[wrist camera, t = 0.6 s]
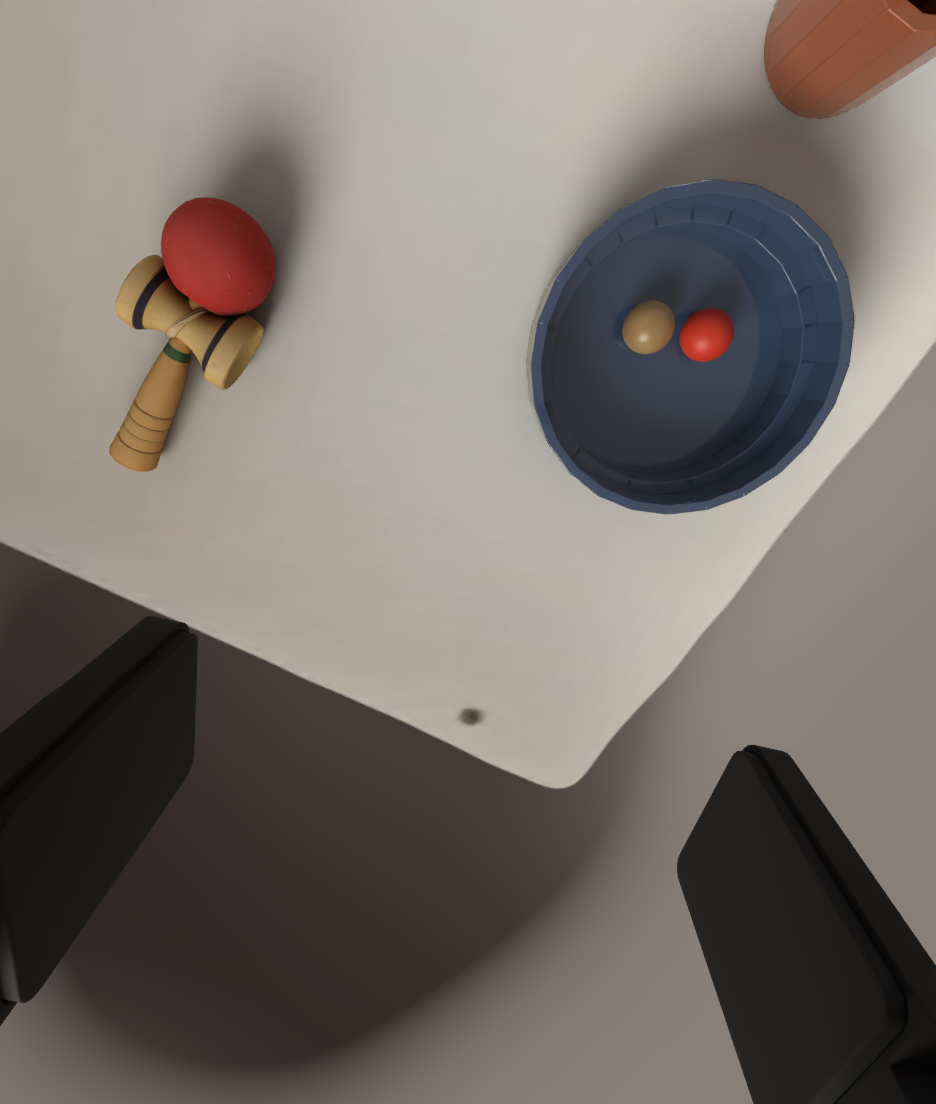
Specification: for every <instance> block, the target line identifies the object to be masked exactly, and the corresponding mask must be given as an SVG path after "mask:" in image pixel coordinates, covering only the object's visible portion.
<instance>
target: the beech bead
mask: <svg viewBox="0 0 936 1104" xmlns="http://www.w3.org/2000/svg"><path fill="white" fill-rule="evenodd" d="M674 330H675V318H674V315H673V312H672V311H671V309H670V308H669V307H668V306H667V305H666V304H664V303H662V302H660V301H656V300H647V301H644V302H641V303H639V304H637V305H636V306H634V307H633V308H632V309H631V310H630V311H629V313H628V314H627V316H626V317H625V320H624V323H623V328H622V333H623V338H624V341H625V343H626V344H627V346H628V347H629V348H630V349H631V350H633V351H634V352H636V353H639V354H652V353H655V352H658V351H660V350H661V349H662V348H664V347H665V346H666V345H667V344H668V343H669V341H670V340H671V338H672V336H673V334H674Z"/></svg>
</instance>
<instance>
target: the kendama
mask: <svg viewBox="0 0 936 1104" xmlns="http://www.w3.org/2000/svg"><path fill="white" fill-rule="evenodd" d="M161 252H162V257H163V258H161V257H159V256H157V255H152V256H148V257H146V258H144V259H143V260H141V261H140V262H139V263H138V264H137V265H136V266H135V267H134V268H133V269H132V270H131V272H130V273H129V274H128V276H127V278H126V279H125V281H124V283H123V285H122V286H121V288H120V291H119V293H118V296H117V300H116V313H117V316H118V317H119V318H120V319H121V320H123V321H124V322H125V323H126V324H128V325H129V326H130V327H132V328H134V329H155V330H160V331H163V332H166V336H168V337H169V338H170V340H169V342H168V343H167V345H166V346H165V347H164V349H163V351H162V352H161V354H160V355H159V357H158V359H157V360H156V362H155V363H154V365H153V366H152V368H151V370H150V371H149V373H148V375H147V376H146V378H145V380H144V382H143V384H142V386H141V388H140V389H139V392H138V394H137V396H136V398H135V400H134V402H133V404H132V406H131V408H130V411H129V412H128V414H127V416H126V418H125V420H124V422H123V424H122V425H121V427H120V430H119V432H118V433H117V435H116V436H115V438H114V440H113V442H112V444H111V445H110V450H109V453H110V455H111V457H112V458H113V459H114V460H115V461H116V462H117V463H119V464H120V465H122V466H124V467H126V468H128V469H132V470H135V471H150V470H153V469H155V468H156V467H157V465H158V462H159V459H160V455H161V452H162V448H163V446H164V443H165V439H166V436H167V434H168V431H169V428H170V425H171V423H172V420H173V417H174V414H175V412H176V409H177V406H178V403H179V400H180V397H181V394H182V391H183V388H184V384H185V380H186V376H187V372H188V368H189V363H190V360H191V355H192V352H193V353H194V354H195V355H196V357H197V358H198V360H199V362H200V364H201V366H202V369H203V372H204V376H205V379H206V380H207V381H208V382H210V383H212V384H213V385H215V386H217V387H218V388H220V389H223V390H225V389H227V388H229V387H230V386H231V385H232V384H233V383H234V382H235V381H236V380H237V379H238V377H239V376H240V375H241V374H242V372H243V371H244V369H245V368H246V366H247V365H248V363H249V362H250V360H251V359H252V357H253V355H254V354H255V352H256V350H257V348H258V346H259V344H260V342H261V339H262V336H263V326H262V325H261V324H259V323H258V322H257V321H255V320H254V319H253V318H252V317H250V316H249V315H247V312H250V311H252V310H254V309H255V308H257V307H258V306H259V305H260V304H262V303H263V302H264V300H265V299H266V298H267V296H268V295H269V293H270V291H271V289H272V286H273V283H274V279H275V272H276V264H275V256H274V252H273V248H272V245H271V243H270V241H269V239H268V237H267V235H266V234H265V232H264V231H263V229H262V228H261V227H260V225H259V224H258V223H257V222H256V221H255V220H254V219H253V218H252V217H251V216H250V215H249V214H247V212H246V211H245V210H242V209H240V208H239V207H237V206H235V205H233V204H231V203H229V202H227V201H224V200H220V199H215V198H196V199H193V200H190V201H186V202H185V203H183V204H182V205H180V206H179V207H178V208H177V209H176V210H175V211H174V212H173V213H172V214H171V215H170V217H169V218H168V220H167V222H166V224H165V226H164V229H163V232H162V239H161Z"/></svg>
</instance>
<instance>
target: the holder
mask: <svg viewBox="0 0 936 1104" xmlns="http://www.w3.org/2000/svg"><path fill="white" fill-rule="evenodd" d="M934 57H936V0H778V1H777V3H776V5H775V7H774V10H773V12H772V14H771V18H770V21H769V24H768V28H767V33H766V38H765V48H764V60H765V68H766V73H767V77H768V81H769V83H770V86H771V88H772V90H773V92H774V94H775V95H776V97H777V98H778V99H779V101H780V102H781V103H782V104H783V105H784V106H785V107H786V108H788V109H789V110H791V111H792V112H794V113H796V114H798V115H801V116H803V117H808V118H818V119H820V118H829V117H833V116H837V115H840V114H842V113H845V112H847V111H849V110H851V109H852V108H855V107H857V106H859V105H861V104H862V103H864V102H865V101H867V100H869V99H870V98H872V97H873V96H875V95H876V94H878V93H880V92H881V91H883V90H884V89H886V88H887V87H889V86H890V85H892V84H894V83H895V82H897V81H898V80H900V79H901V78H903V77H905V76H906V75H908V74H909V73H911V72H912V71H914V70H915V69H917V68H919V67H920V66H922V65H923V64H925V63H926V62H928V61H930V60H931V59H933V58H934Z"/></svg>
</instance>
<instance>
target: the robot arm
mask: <svg viewBox="0 0 936 1104" xmlns="http://www.w3.org/2000/svg"><path fill="white" fill-rule="evenodd" d="M197 648H198V641H197V636H196V635H195V634H191V633H189V628H188V626H187V624H185V623H183V622H178V621H173V620H168V619H164V618H159V617H155V616H148V617H146V618H144V619H143V620H142V621H140V622H139V623H138V624H137V625H135V626H134V627H133V628H132V629H130V630H129V631H128V632H127V633H126V634H124V635H123V636H122V637H121V638H120V639H118V640H117V641H116V642H115V643H113V644H112V645H111V646H110V647H109V648H107V649H106V650H105V651H104V652H103V653H101V654H100V655H99V656H98V657H96V658H95V659H94V660H93V661H91V662H90V663H89V664H88V665H87V666H86V667H84V668H83V669H82V670H80V671H79V672H78V673H77V674H76V675H74V676H73V677H72V678H71V679H69V680H68V681H67V682H66V683H65V684H63V685H62V686H61V687H59V688H57V689H56V690H54V691H52V692H51V693H49V694H48V695H47V696H46V697H45V698H43V699H42V700H41V701H40V702H38V703H37V704H36V705H35V706H34V707H32V708H31V709H30V710H29V711H27V712H26V713H25V714H24V715H22V716H21V717H20V718H19V719H17V721H15V722H14V723H13V724H11V725H10V726H9V727H8V728H6V729H5V730H4V731H3V732H1V733H0V1026H1V1024H2V1023H3V1022H4V1020H5V1019H6V1017H7V1016H8V1015H9V1013H10V1012H11V1010H12V1009H13V1007H14V1006H15V1005H16V1003H17V1002H21V1003H26V1002H27V1001H29V1000H31V999H32V998H33V997H34V996H35V995H36V994H37V993H38V991H39V990H40V989H41V987H42V986H43V985H44V983H45V982H46V981H47V979H48V978H49V976H50V975H51V973H52V972H53V970H54V969H55V967H56V966H57V965H58V963H59V962H60V960H61V959H62V957H63V956H64V954H65V953H66V952H67V950H68V949H69V947H70V946H71V944H72V943H73V941H74V940H75V939H76V937H77V935H78V934H79V933H80V931H81V930H82V928H83V927H84V925H85V924H86V923H87V921H88V920H89V918H90V917H91V915H92V914H93V912H94V911H95V910H96V908H97V907H98V905H99V904H100V902H101V901H102V899H103V898H104V896H105V895H106V894H107V892H108V891H109V889H110V888H111V886H112V885H113V884H114V882H115V881H116V879H117V878H118V876H119V875H120V873H121V872H122V870H123V869H124V867H125V866H126V865H127V863H128V862H129V860H130V859H131V857H132V856H133V854H134V853H135V852H136V850H137V849H138V847H139V846H140V844H141V843H142V842H143V840H144V839H145V837H146V836H147V834H148V833H149V831H150V830H151V828H152V827H153V825H154V824H155V823H156V821H157V820H158V818H159V817H160V815H161V814H162V812H163V811H164V809H165V808H166V807H167V805H168V804H169V802H170V801H171V800H172V798H173V797H174V795H175V794H176V792H177V791H178V789H179V788H180V786H181V785H182V783H183V782H184V781H185V779H186V777H187V776H188V774H189V771H190V769H191V766H192V763H193V758H194V741H195V709H196V679H197ZM677 873H678V879H679V882H680V885H681V888H682V891H683V894H684V897H685V900H686V903H687V906H688V909H689V912H690V915H691V918H692V921H693V924H694V927H695V930H696V933H697V936H698V939H699V941H700V945H701V947H702V951H703V954H704V957H705V960H706V963H707V966H708V969H709V972H710V975H711V978H712V981H713V983H714V987H715V990H716V993H717V996H718V999H719V1002H720V1005H721V1008H722V1011H723V1014H724V1017H725V1020H726V1023H727V1026H728V1029H729V1032H730V1035H731V1038H732V1041H733V1044H734V1047H735V1050H736V1053H737V1056H738V1059H739V1062H740V1064H741V1067H742V1071H743V1074H744V1077H745V1080H746V1083H747V1086H748V1089H749V1091H750V1095H751V1098H752V1101H753V1104H936V965H935V964H934V962H933V961H932V960H931V958H930V957H929V955H928V954H927V952H926V951H925V949H924V948H923V947H922V945H921V944H920V942H919V941H918V939H917V938H916V936H915V935H914V934H913V932H912V931H911V929H910V928H909V926H908V925H907V923H906V922H905V921H904V919H903V918H902V916H901V915H900V913H899V912H898V910H897V909H896V908H895V906H894V905H893V903H892V902H891V900H890V899H889V897H888V896H887V895H886V893H885V892H884V890H883V889H882V887H881V886H880V884H879V883H878V882H877V881H876V879H875V877H874V876H873V874H872V873H871V872H870V870H869V869H868V867H867V866H866V864H865V863H864V862H863V860H862V859H861V857H860V856H859V854H858V853H857V851H856V850H855V848H854V847H853V846H852V844H851V843H850V841H849V840H848V838H847V837H846V835H845V834H844V833H843V831H842V830H841V828H840V827H839V825H838V824H837V823H836V821H835V820H834V818H833V817H832V815H831V814H830V813H829V811H828V810H827V808H826V807H825V805H824V804H823V803H822V801H821V799H820V798H819V796H818V795H817V794H816V792H815V791H814V789H813V788H812V787H811V785H810V784H809V782H808V781H807V779H806V778H805V776H804V775H803V773H802V772H801V771H800V769H799V768H798V766H797V765H796V763H795V762H794V760H793V759H792V758H791V757H790V756H789V755H788V754H787V753H785V752H783V751H779V750H774V749H770V748H766V747H761V746H756V745H748V746H747V747H745V748H744V749H743V750H742V751H737V752H736V753H734V755H733V756H732V758H731V759H730V761H729V763H728V765H727V767H726V769H725V771H724V772H723V774H722V776H721V778H720V780H719V782H718V784H717V786H716V787H715V789H714V791H713V793H712V795H711V797H710V799H709V801H708V803H707V804H706V806H705V808H704V810H703V812H702V814H701V815H700V817H699V819H698V821H697V823H696V825H695V827H694V829H693V830H692V832H691V834H690V836H689V838H688V840H687V842H686V844H685V845H684V847H683V849H682V851H681V853H680V855H679V858H678V862H677Z"/></svg>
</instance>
